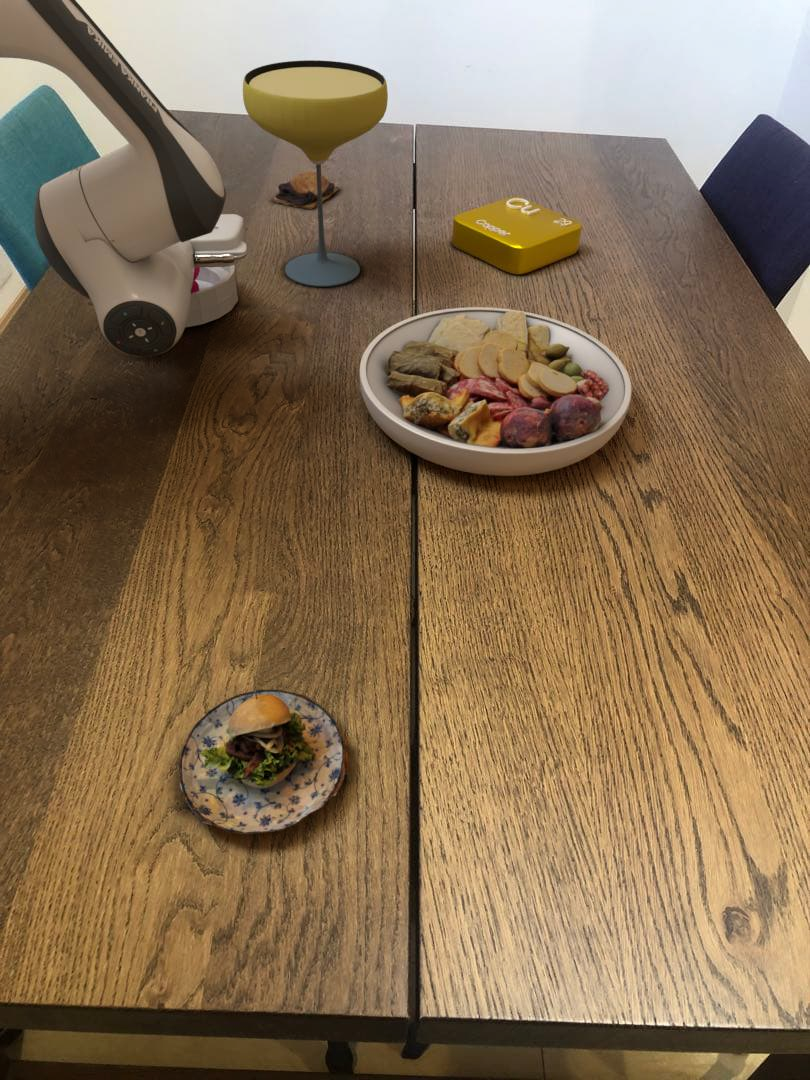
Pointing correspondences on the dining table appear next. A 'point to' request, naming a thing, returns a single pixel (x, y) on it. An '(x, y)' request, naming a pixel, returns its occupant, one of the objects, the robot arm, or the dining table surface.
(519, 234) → the element tile
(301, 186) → the topped cracker
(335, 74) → the cocktail glass
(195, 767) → the burger
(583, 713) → the dining table surface
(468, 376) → the bowl
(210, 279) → the white ledged dish
